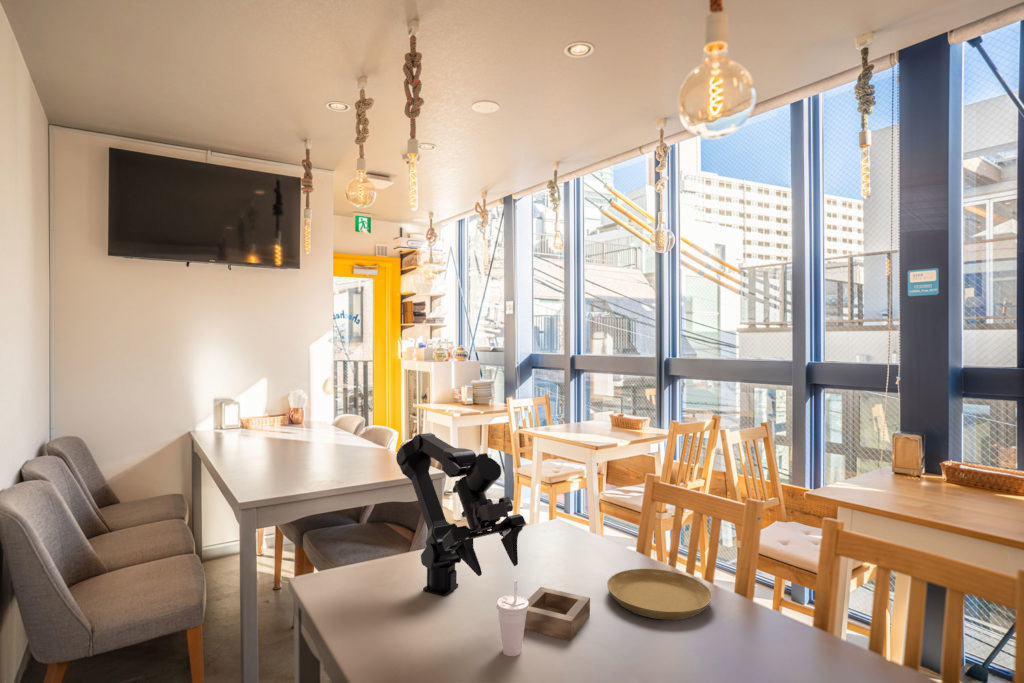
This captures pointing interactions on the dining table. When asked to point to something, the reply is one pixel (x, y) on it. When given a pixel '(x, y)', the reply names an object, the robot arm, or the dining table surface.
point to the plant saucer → (659, 593)
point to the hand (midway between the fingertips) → (498, 570)
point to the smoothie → (512, 621)
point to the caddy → (557, 613)
